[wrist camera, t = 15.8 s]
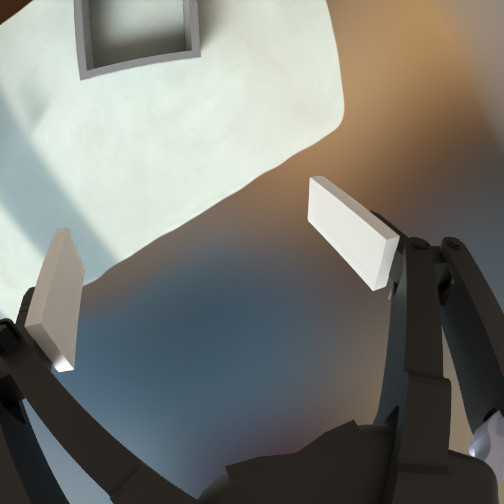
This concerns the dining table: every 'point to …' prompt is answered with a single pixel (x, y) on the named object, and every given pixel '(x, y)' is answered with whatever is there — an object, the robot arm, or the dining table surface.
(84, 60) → the box
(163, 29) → the dining table surface
